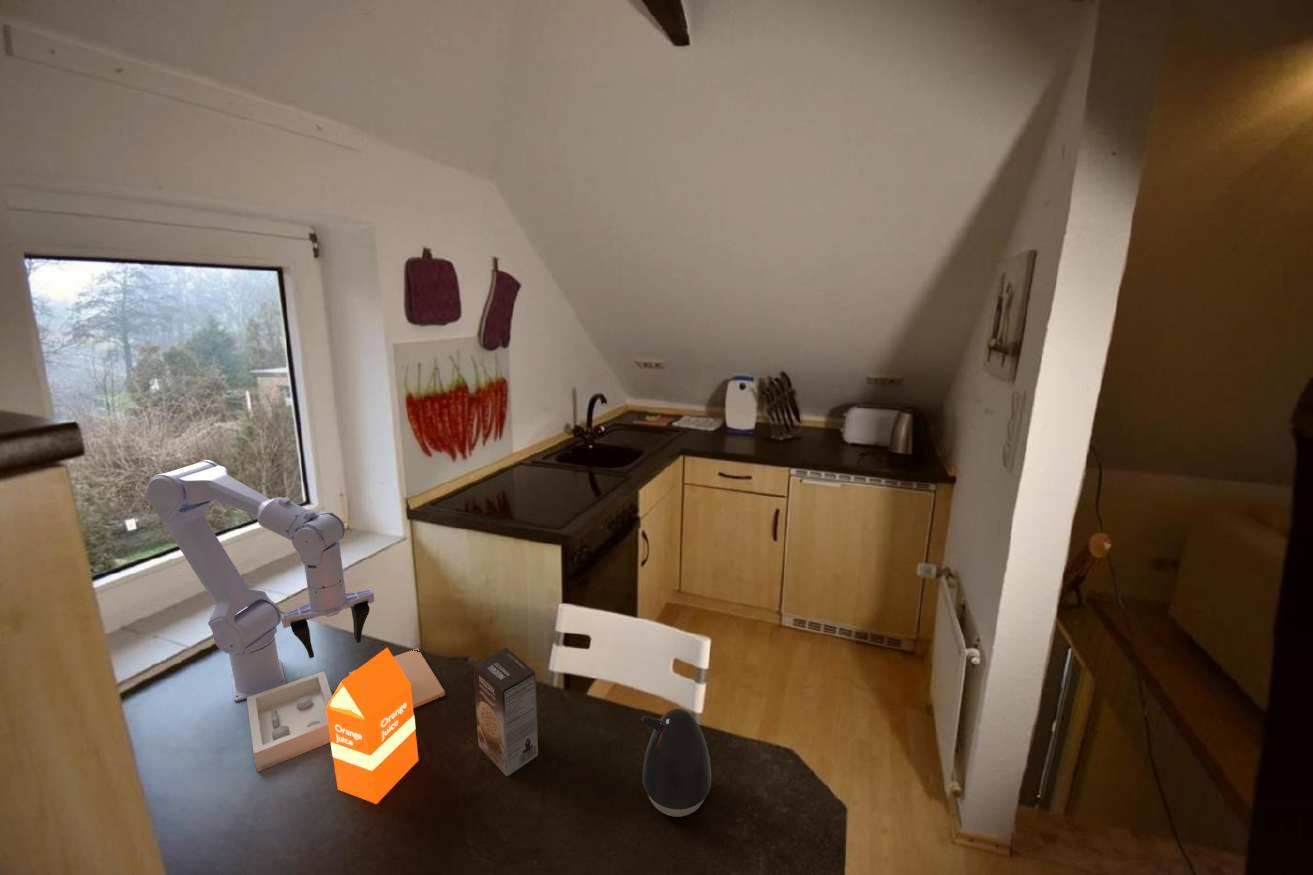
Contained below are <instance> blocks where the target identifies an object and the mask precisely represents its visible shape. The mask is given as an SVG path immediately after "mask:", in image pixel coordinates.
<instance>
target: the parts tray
mask: <svg viewBox="0 0 1313 875" xmlns="http://www.w3.org/2000/svg"><path fill="white" fill-rule="evenodd" d="M330 688H331V687H330V685H329V683H328V678H327V676H326V673H325V671H324V670H323V671H320V672H318V673H315V674H314V673H313V674H312V675H307V676H305V677H302V678H300V679H297V680H293V681H290V682H288V683H286V684H285V685H282V686H279V687H276V688H273V689H270V690H267V691H264V692H261V693H258V694H255V695H252V696H250V697H247V698H246V701H247V702H246V703H247V704H246V705H247V712H248V717H249V718H248V719H249V727H250V734H251V743H252V750H253V757H254V763H255V768H256V772H257V773H259V772H261V771H265V770H266V769H268V768H271V767H274V766H276V765H278V764H280V763H283V762H286V761H287V760H291V759H292V758H293V759H294V758H295V757H298V756H300V755H303V754H305V753H307V752H309V751H312V750H314V749H317V748H319V747H322V746H324V745H327V744H329V743H331V739H330V733H329V726H328V719H327V712H326V707H327V705H328V703H329V702H330V700H331V698H332V697H333V694H332V690H331V689H330Z"/></svg>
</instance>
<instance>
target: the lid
mask: <svg viewBox="0 0 1313 875" xmlns="http://www.w3.org/2000/svg"><path fill="white" fill-rule="evenodd" d="M412 650H413V651H412ZM414 650H418V651H420V650H419V648H414V649H411V650H409V651H405V652H402V653H399V654H397V655H393V657H394V659H395V660H396V662H397V664H398V665H399V667H400V668H401V670H402V671H403V673H404V675H405V676H406V678H407V679H408V681H409V682H410V684H411V693H412V703H413V709H415V708H418V707H420V706H422V705H425V704H427V703H430V702H432V701H434V700H437V699H440V698H442V697H444V696H446V691H445V689H444V688H443V686H442V684H441V683H440V681H439V680H438V678H437V677H436V675H435V674H434V672H433V671H432V669H431V667H430V665H429V664H428V662H427V661H426V659H425V657H424V656H423V655H422V653H421V651H420V652H417V651H414ZM356 670H357V669H354V670H352V671H349V672H348V674H349V675H351V674H352V673H353V672H355V671H356ZM349 675H348V676H349ZM439 697H440V698H439Z"/></svg>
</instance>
